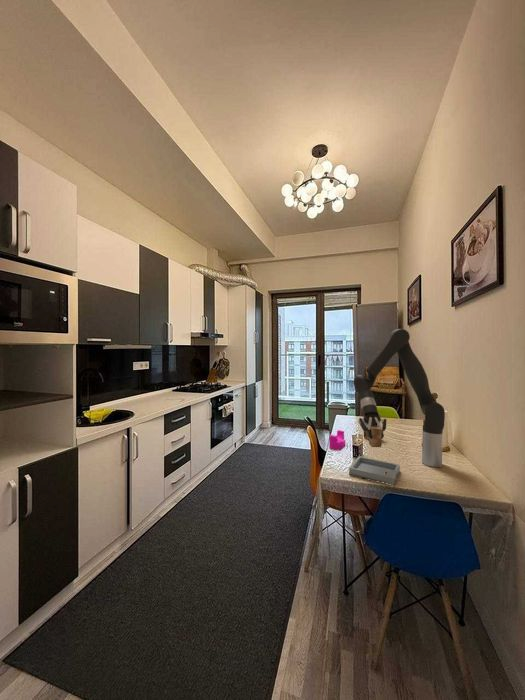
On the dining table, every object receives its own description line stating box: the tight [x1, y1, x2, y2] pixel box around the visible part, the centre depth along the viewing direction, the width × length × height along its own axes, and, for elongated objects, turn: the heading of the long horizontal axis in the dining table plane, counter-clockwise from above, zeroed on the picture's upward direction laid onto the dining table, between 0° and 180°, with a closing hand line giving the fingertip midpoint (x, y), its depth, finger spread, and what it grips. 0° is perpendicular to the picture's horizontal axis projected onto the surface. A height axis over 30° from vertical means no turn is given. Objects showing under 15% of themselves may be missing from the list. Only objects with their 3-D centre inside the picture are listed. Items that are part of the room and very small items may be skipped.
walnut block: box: [368, 426, 382, 448], centre depth 142 cm, size 4×4×9 cm
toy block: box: [328, 429, 346, 451], centre depth 182 cm, size 15×6×8 cm, turn 145°
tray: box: [348, 455, 401, 486], centre depth 143 cm, size 20×18×4 cm
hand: (376, 438), depth 141 cm, fingers closed on walnut block, 4 cm apart
